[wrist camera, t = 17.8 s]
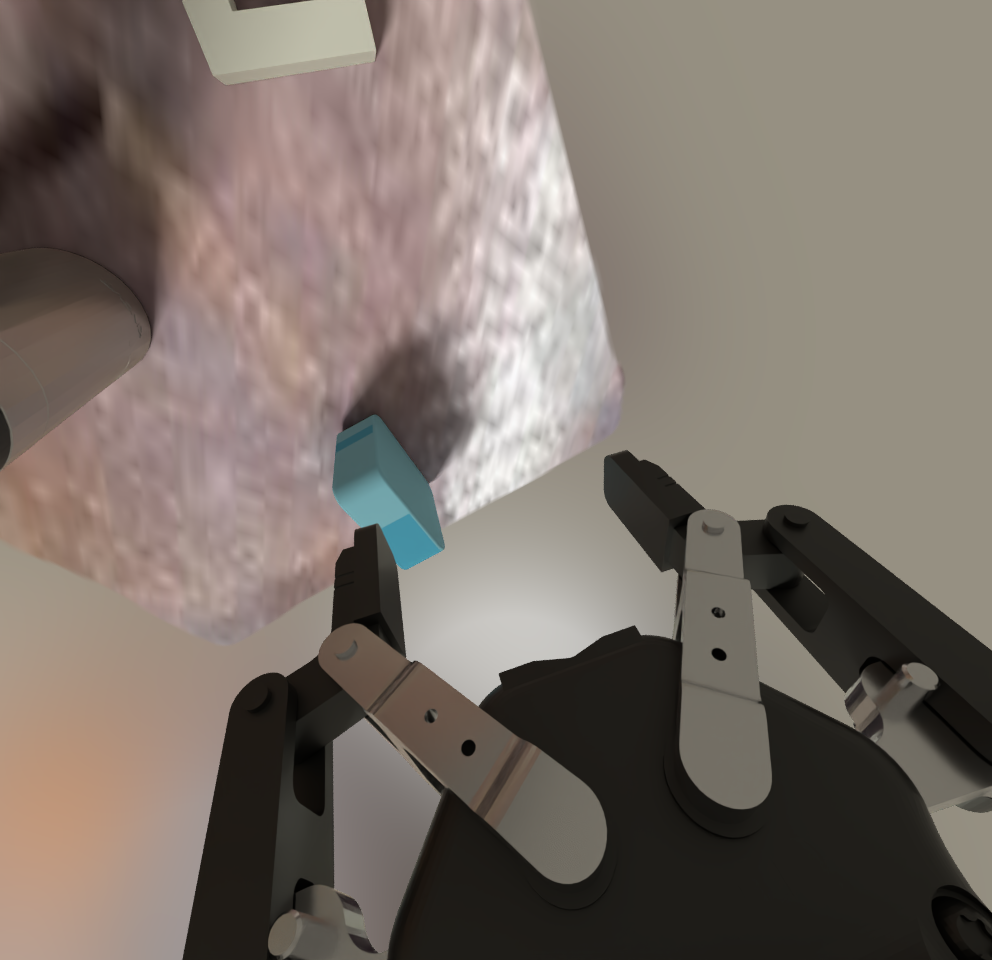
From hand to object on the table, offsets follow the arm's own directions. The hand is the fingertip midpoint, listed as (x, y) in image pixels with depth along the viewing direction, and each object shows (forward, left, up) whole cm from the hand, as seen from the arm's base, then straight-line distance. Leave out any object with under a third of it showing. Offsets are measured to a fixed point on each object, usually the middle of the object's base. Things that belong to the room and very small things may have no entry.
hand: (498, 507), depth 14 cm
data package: (-7, -15, -30) cm, 35 cm away
